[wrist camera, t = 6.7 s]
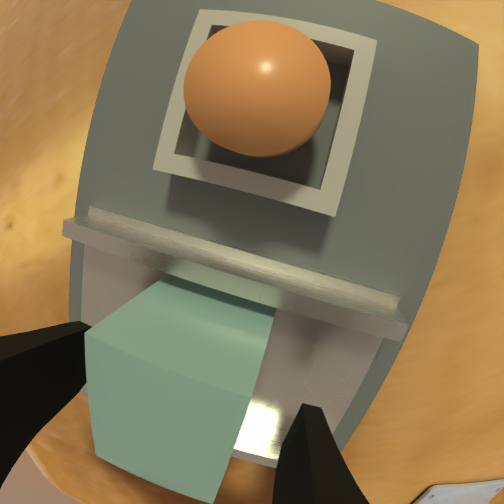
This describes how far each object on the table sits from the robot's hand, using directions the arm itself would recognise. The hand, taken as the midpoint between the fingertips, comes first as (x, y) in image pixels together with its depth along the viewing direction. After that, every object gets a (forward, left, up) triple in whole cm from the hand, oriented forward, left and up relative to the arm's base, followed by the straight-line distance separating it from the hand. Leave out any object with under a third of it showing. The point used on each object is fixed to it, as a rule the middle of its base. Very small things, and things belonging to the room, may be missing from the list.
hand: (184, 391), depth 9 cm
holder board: (+5, 0, -4) cm, 6 cm away
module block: (0, 0, -3) cm, 3 cm away
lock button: (+9, 0, -1) cm, 9 cm away
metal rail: (0, 0, -4) cm, 4 cm away
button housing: (+9, 0, -4) cm, 10 cm away
